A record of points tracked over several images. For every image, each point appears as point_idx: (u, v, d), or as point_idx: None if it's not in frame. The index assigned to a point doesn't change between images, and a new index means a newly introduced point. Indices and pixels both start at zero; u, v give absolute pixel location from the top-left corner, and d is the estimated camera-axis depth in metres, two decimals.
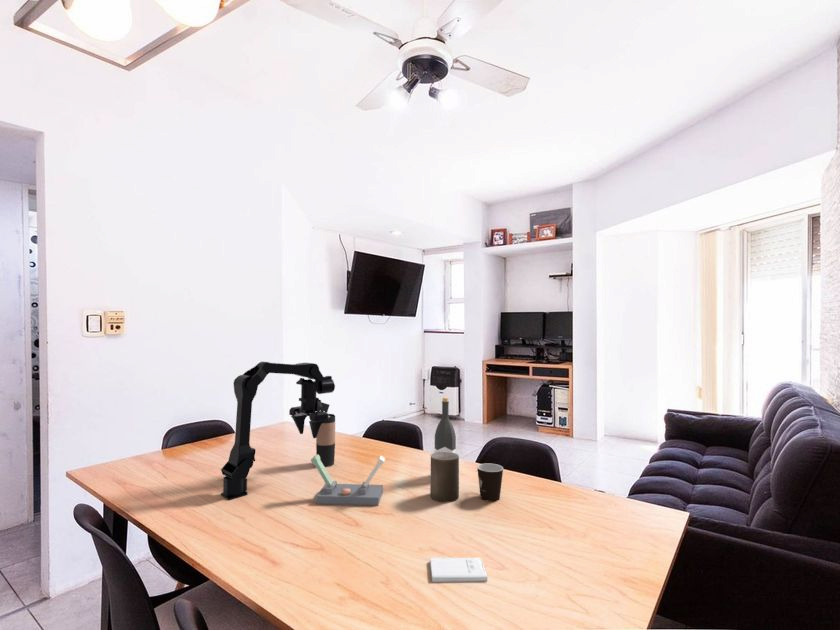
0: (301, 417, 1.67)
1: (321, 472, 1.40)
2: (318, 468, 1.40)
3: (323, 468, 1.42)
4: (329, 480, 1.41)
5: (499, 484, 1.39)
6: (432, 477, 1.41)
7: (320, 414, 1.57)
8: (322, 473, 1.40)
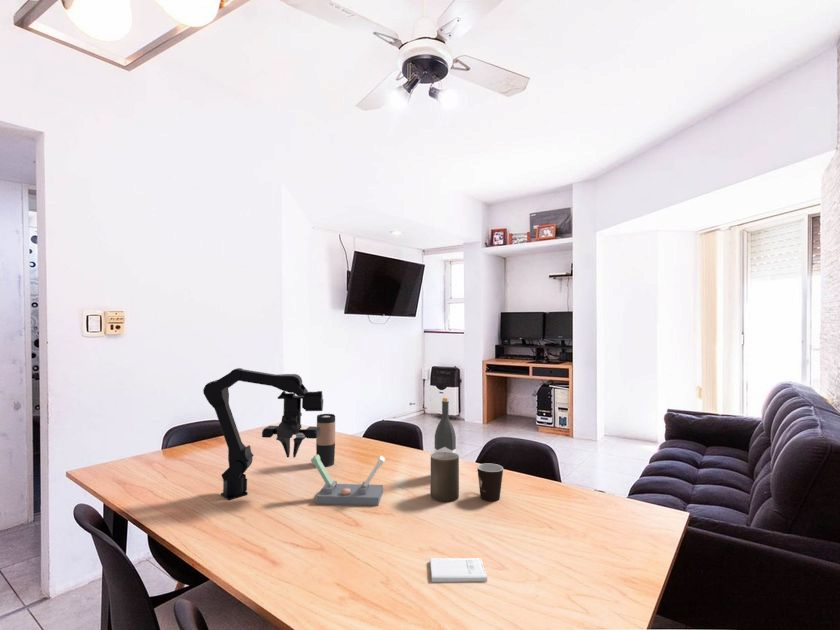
0: None
1: (321, 472, 1.40)
2: (318, 468, 1.40)
3: (323, 468, 1.42)
4: (329, 480, 1.41)
5: (499, 484, 1.39)
6: (432, 477, 1.41)
7: None
8: (322, 473, 1.40)
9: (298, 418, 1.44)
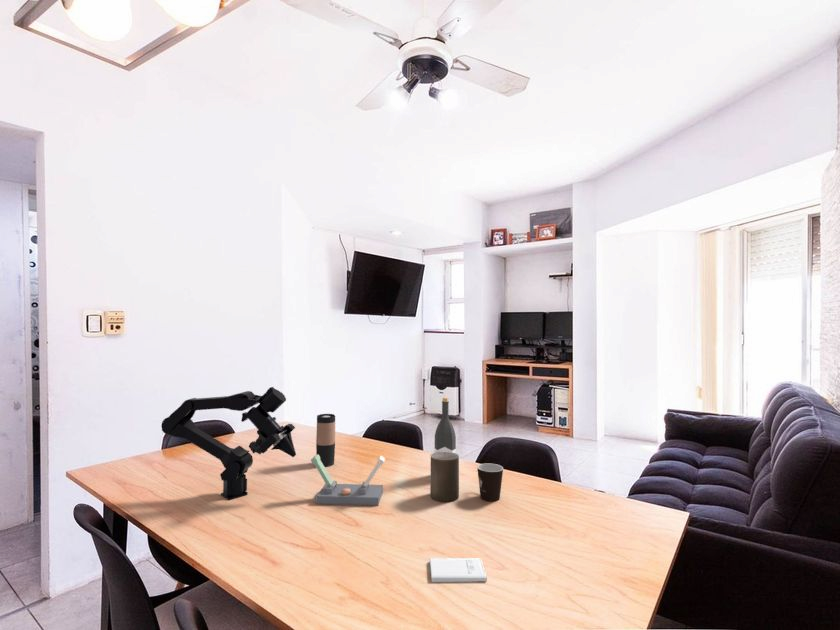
0: None
1: (321, 472, 1.40)
2: (318, 468, 1.40)
3: (323, 468, 1.42)
4: (329, 480, 1.41)
5: (499, 484, 1.39)
6: (432, 477, 1.41)
7: None
8: (322, 473, 1.40)
9: (262, 430, 1.40)
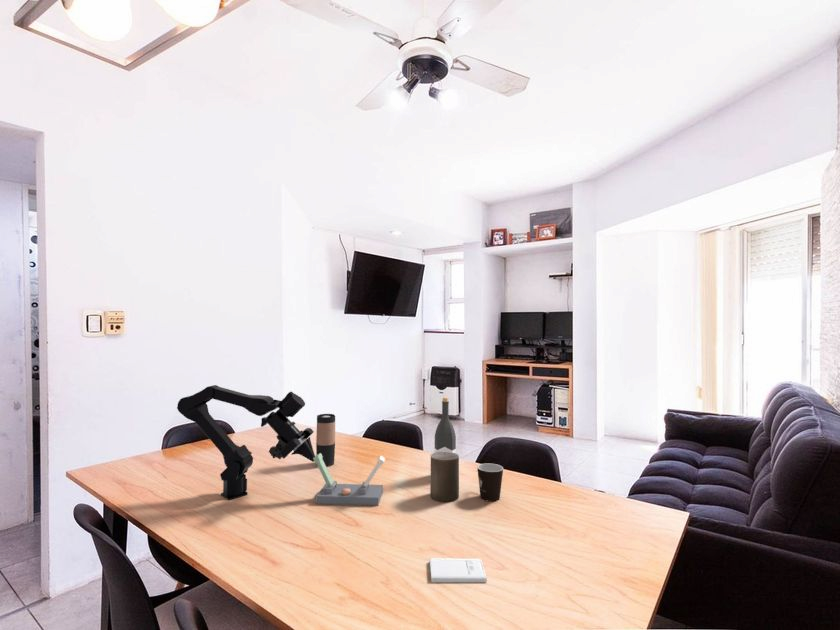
0: None
1: (322, 471, 1.40)
2: (320, 467, 1.40)
3: (324, 467, 1.42)
4: (330, 480, 1.41)
5: (499, 484, 1.39)
6: (432, 477, 1.41)
7: None
8: (323, 472, 1.40)
9: (282, 435, 1.40)
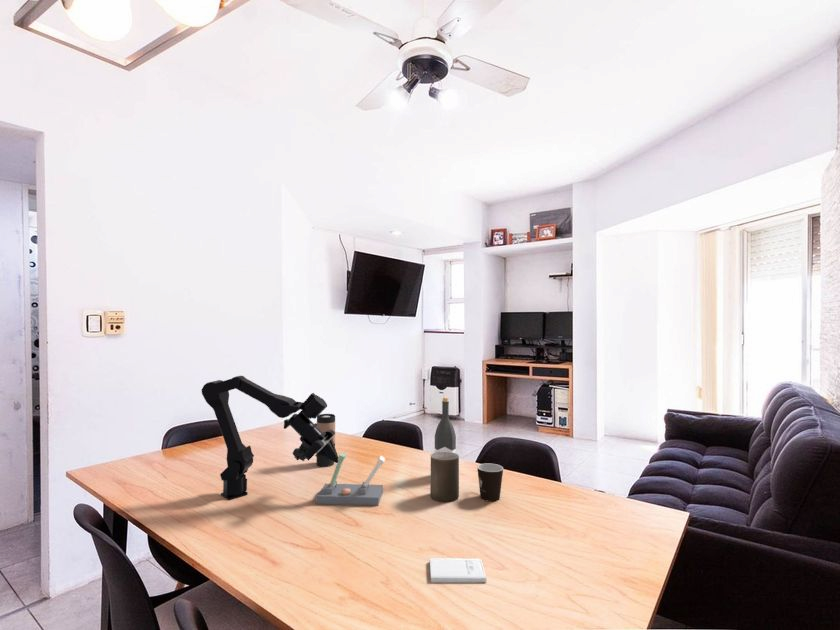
0: None
1: (336, 471, 1.40)
2: (337, 466, 1.40)
3: (339, 468, 1.41)
4: (334, 481, 1.41)
5: (499, 484, 1.39)
6: (432, 477, 1.41)
7: None
8: (336, 472, 1.40)
9: (305, 437, 1.39)
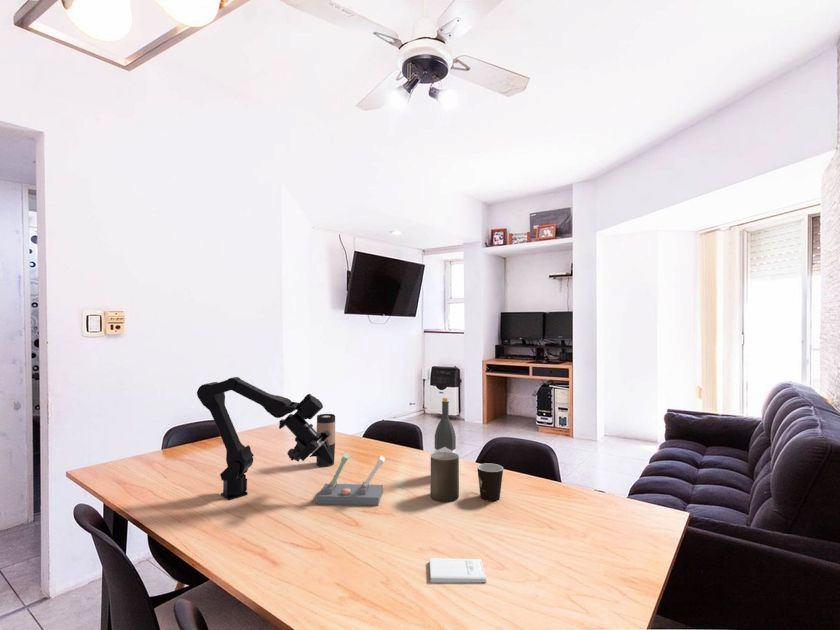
0: None
1: (338, 472, 1.40)
2: (340, 467, 1.40)
3: (341, 469, 1.41)
4: (335, 482, 1.41)
5: (499, 484, 1.39)
6: (432, 477, 1.41)
7: None
8: (338, 473, 1.40)
9: (300, 437, 1.39)
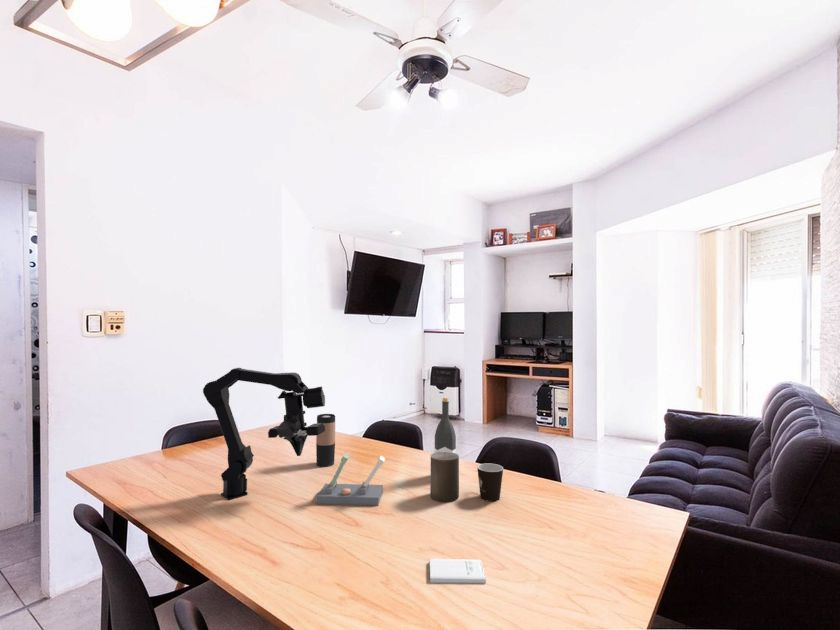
0: None
1: (338, 472, 1.40)
2: (340, 467, 1.40)
3: (341, 469, 1.41)
4: (335, 482, 1.41)
5: (499, 484, 1.39)
6: (432, 477, 1.41)
7: None
8: (338, 473, 1.40)
9: (300, 416, 1.43)
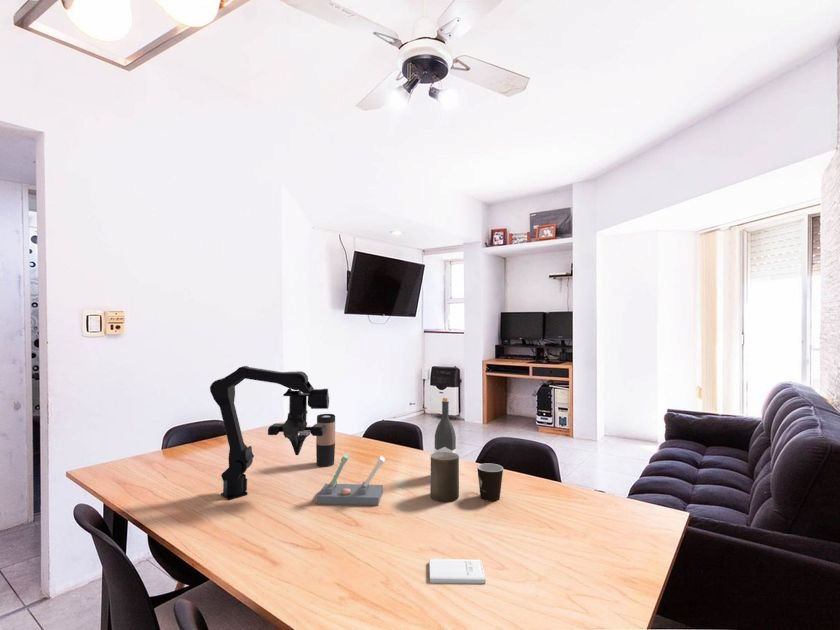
0: None
1: (338, 472, 1.40)
2: (340, 467, 1.40)
3: (341, 469, 1.41)
4: (335, 482, 1.41)
5: (499, 484, 1.39)
6: (432, 477, 1.41)
7: (272, 425, 1.46)
8: (338, 473, 1.40)
9: (304, 415, 1.44)
